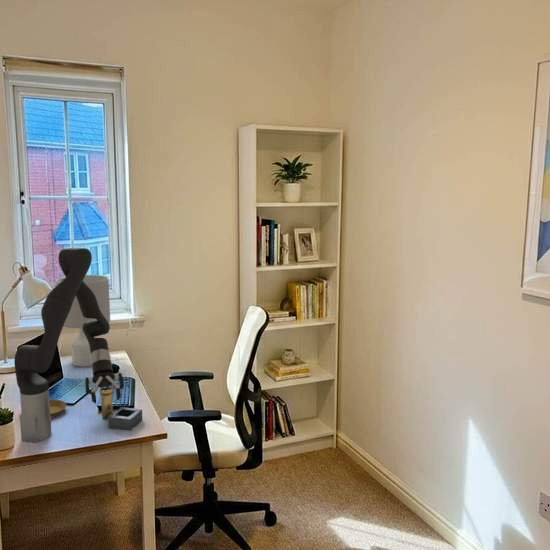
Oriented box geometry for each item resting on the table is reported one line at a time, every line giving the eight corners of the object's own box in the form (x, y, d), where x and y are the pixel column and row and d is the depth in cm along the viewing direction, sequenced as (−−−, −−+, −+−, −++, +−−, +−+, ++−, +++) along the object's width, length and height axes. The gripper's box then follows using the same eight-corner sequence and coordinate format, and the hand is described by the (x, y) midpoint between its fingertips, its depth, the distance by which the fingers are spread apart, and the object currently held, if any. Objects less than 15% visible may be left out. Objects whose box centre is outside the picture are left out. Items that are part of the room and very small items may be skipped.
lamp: (115, 353, 283) (112, 274, 275) (107, 369, 259) (103, 283, 252) (68, 355, 280) (63, 275, 273) (55, 371, 256) (49, 283, 249)
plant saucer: (56, 402, 220) (56, 396, 220) (73, 413, 210) (73, 407, 210) (19, 413, 210) (19, 406, 209) (35, 425, 200) (34, 418, 199)
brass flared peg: (109, 420, 204) (108, 392, 202) (98, 418, 205) (96, 391, 203) (117, 414, 208) (115, 388, 207) (105, 413, 210) (104, 386, 208)
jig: (130, 431, 195) (129, 419, 194) (108, 428, 197) (107, 416, 196) (142, 420, 204) (142, 409, 203) (121, 417, 206) (120, 406, 205)
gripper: (82, 361, 208) (88, 399, 200) (120, 356, 214) (127, 393, 206) (82, 370, 214) (87, 408, 205) (118, 365, 220) (125, 401, 211)
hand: (107, 400), depth 206 cm, fingers open, 8 cm apart
